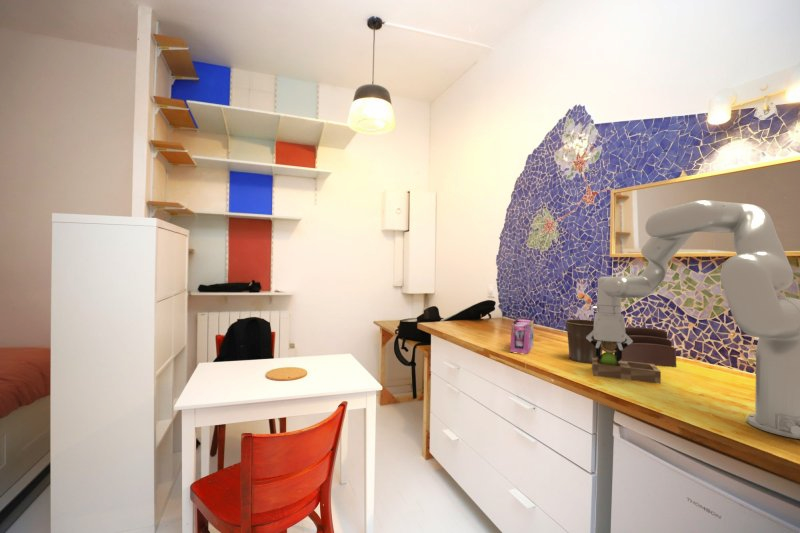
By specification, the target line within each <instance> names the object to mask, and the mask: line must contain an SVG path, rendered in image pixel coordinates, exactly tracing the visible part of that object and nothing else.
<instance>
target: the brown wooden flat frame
mask: <svg viewBox="0 0 800 533" xmlns="http://www.w3.org/2000/svg"><path fill="white" fill-rule="evenodd" d="M591 370H592V376H595V377H602V378H611V379H619V380H627V381H635V382H643V383H650V384H651V383H652V384H661V382H662V380H661V378H662V377H661V376H662V375H661V373H662V371H661V370H660V369H659V368H658V366H655V365H654V364H649V363H640V362H630V361H621V360H620V361H617V363H616V365H606V364H602V363H601V361H600V359H598V358H592V362H591Z"/></svg>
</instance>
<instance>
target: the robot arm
mask: <svg viewBox="0 0 800 533" xmlns="http://www.w3.org/2000/svg"><path fill="white" fill-rule="evenodd" d="M645 232H646V233H647V235H648V236H649V239H648V240H647V241H646V242H645V243H644V245H643V246H642V247H641V249H640V252H641V255H642V256H643V258H645V259H646V260H647V261H648V264H647V265H646V267H645V268H644V270H643V271H642V272H641V273H640V274H639V275H638V276H631V275H630V276H628V275H627V276H626V275H625V276H623V275H621V276H600V277H599V278H598V279H597V305H595V306H592V309H593V311H596V312H595V314H594V319H593V321H594V326H593V331H591V332H590V333H589V334H588V335H587V336H586V339H587V340H589V341H590V342H591V343H592V344H593V345H594V346H595V347H596V356H597V357H598V359H601V348H600V344H601V341H605V342H616V343H617V345H618V349H617V361H620V359H622V350H623V349H624V348H625V347H627V346H628V345H629V344H631V343H632V342H633V340H632V339H631V338H630V337H629V336H628V335H627V334H626V333H625V327H626V324H625V323H626V322H625V316H624V314H622V299H633V298H634V299H635V298H636V299H640V298H641V299H642V298H646V297H649V296H650V295H651V294H653V293H654V292H655V291H656V290H657V289H658V287H660V286H661V284H662V283H663V281H665V278H666V275H667V271H668V263H669V262H670V261H671V260H672V259H673V257H674V256H675V255H676V254H677V253H678V252H679V251H680V250H681V249H682V248H683V246H684V245H685V244H686V243H687V242H688V241H689V239H690V238H691V237H692V236H693V235H694V233H698V232H699V233H700V232H701V233H716V234H718V233H719V234H725V233H726V234H733V237H732V242H733V244H732V245H733V247H734V250H735V253H736V255H733V256H731V257H729V258H728V259H727V260H726V261H724V263H723V264H722V266H721V269H720V282H721V286H722V289H723V291H724V295H725V298H726V300H727V304H728V307H729V309H730V313H731V315H732V318H733V320H734V323H735V324H736V326H737V327H738V328H739V329H740V330H741V331H742V332H744V333H745V334H746V335H748V336H750V337H754V338H758V341H757V344H756V349H755V350H756V351H755V400H754V401H755V406H754V407H755V412H754V413H751V414H748V415H746V422H747V423H748V424H749V425H751V426H752V427H754V428H756V429H759V430H762V431H763V432H767V433H771V434H774V435H778V436H782V437H784V438H785V437H786V438H792V439H796V440H797V439H798V440H800V299H798V298H795V297H788V296H777V293H778V292H781V291H783V290H787V288H789V287H790V286H791V285H792V283H793V282H794V271H793V269H792V266H791V264H790V262H789V259H788V257H787V254H786V252H785V249H784V247H783V245H782V242H781V240H780V238H779V236H778V234H777V230H776V228H775V224H774V222H773V219H772V217H771V215H770V214H769V212H768V211H767V210H765V209H764V208H763V207H761V206H759V205H756V204H751V203H744V202H743V203H742V202H741V203H740V202H730V201H729V202H728V201H720V200H719V201H717V200H709V199H706V200H705V199H703V200H702V199H700V200H694V201H690V202H687V203H682V204H679V205H675V206H671V207H667V208H664V209H661V210H658V211H656V212H654V213H653V214H651V215H650V216H649V217H648V218H647V220H646V222H645ZM592 336H594V339H595V340H597V342H595V341H594V340H593V339H592V338H591V337H592ZM625 338H626V339H627V341H626V342H625ZM622 342H624V343H623V344H622V345H621V343H622Z"/></svg>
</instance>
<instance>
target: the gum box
mask: <svg viewBox="0 0 800 533" xmlns="http://www.w3.org/2000/svg"><path fill="white" fill-rule="evenodd" d="M534 324H535V323H534V319H533V318H525V317H524V318H521V317H517V318H516V319H515V320H514V321H512V322H511V328H510V346H509V348H510V349H509V350H510V351H509V352H517V353H524V354H523V355H525V354H528V355H529V353H530V352H531V351H530V350H532V349H533V348H532V347H534ZM517 353H516V354H517Z"/></svg>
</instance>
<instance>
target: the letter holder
mask: <svg viewBox="0 0 800 533" xmlns="http://www.w3.org/2000/svg"><path fill="white" fill-rule="evenodd" d="M625 333H626V334H627V335H628V336H629V337H630V338H631V339H632V340H633V342H632V343H631V344H629V345H628V346H627V347H625V348H624V349H623V350H622V359H620V360H621V361H630V362H640V363H649V364H654V365H655V366H656V367H671V368H677V349H676V347H674V346H672V343H673V342H672V340H671V339H669V338H668V331H666V330H662V329H657V328H649V327H637V326H631V327H629V326H627V327H626V326H625ZM626 341H627V339H626V338H625V342H626ZM623 343H624V342H622V343H621V345H622V344H623ZM617 349H618V345H617V348H616V349H615V350H616V351H617ZM613 354H614V355H615V356H616V358H617V352H615V353H613Z"/></svg>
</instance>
